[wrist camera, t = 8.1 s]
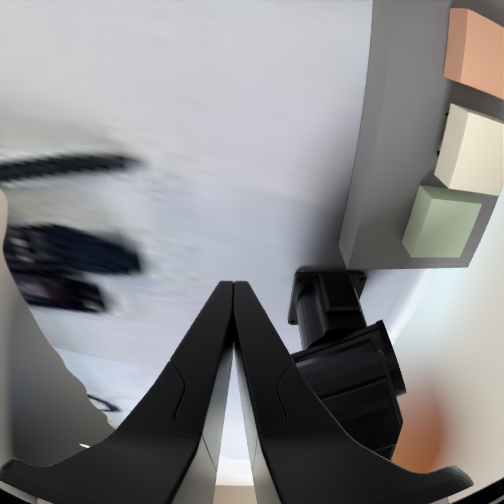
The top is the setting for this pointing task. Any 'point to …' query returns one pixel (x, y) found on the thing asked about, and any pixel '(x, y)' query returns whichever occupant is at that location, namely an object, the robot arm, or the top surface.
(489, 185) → the cream cube
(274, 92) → the top surface
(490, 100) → the gray rectangular slab
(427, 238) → the pale green cube
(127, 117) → the top surface
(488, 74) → the peach cube
